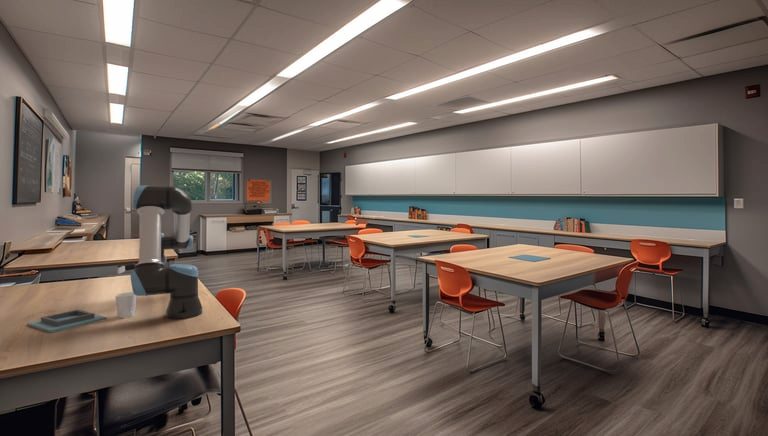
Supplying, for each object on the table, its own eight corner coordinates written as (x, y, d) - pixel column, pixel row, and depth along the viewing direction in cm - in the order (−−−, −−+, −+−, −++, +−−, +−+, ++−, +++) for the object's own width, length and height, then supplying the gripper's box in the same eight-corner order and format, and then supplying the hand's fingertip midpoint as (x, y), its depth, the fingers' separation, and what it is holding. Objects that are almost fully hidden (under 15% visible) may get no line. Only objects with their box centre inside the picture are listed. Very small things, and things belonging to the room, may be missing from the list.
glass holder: (106, 319, 166) (106, 312, 166) (51, 332, 148) (51, 325, 148) (82, 313, 175) (82, 306, 175) (27, 325, 157) (27, 318, 157)
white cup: (138, 315, 172) (138, 294, 172) (118, 319, 166) (117, 297, 166) (133, 312, 177) (133, 291, 177) (113, 315, 172) (113, 294, 171)
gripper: (175, 269, 204) (163, 277, 184) (124, 271, 198) (104, 279, 178) (175, 256, 204) (162, 262, 184) (123, 257, 198) (104, 263, 178)
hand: (134, 270), depth 181 cm, fingers open, 13 cm apart
